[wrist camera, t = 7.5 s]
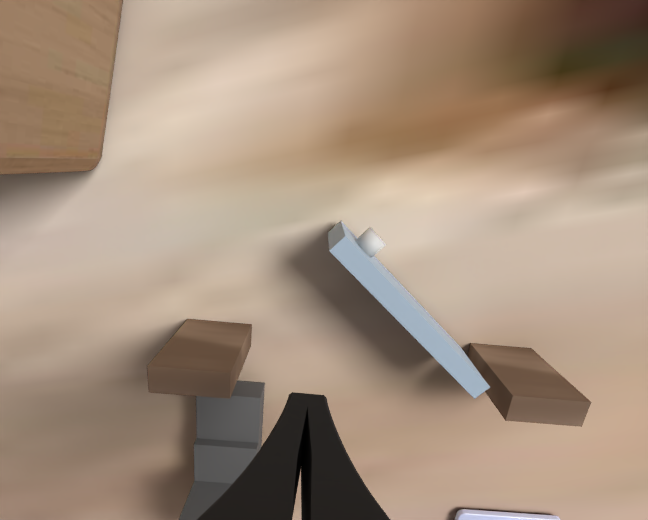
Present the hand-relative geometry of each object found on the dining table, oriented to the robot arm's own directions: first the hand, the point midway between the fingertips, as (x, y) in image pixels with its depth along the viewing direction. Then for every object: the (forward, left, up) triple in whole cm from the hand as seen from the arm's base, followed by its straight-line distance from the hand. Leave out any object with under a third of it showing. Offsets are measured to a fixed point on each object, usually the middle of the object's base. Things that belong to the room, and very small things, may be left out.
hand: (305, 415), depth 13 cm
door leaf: (+3, -5, -8) cm, 10 cm away
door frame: (-2, -3, -9) cm, 9 cm away
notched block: (-11, +5, -9) cm, 15 cm away
